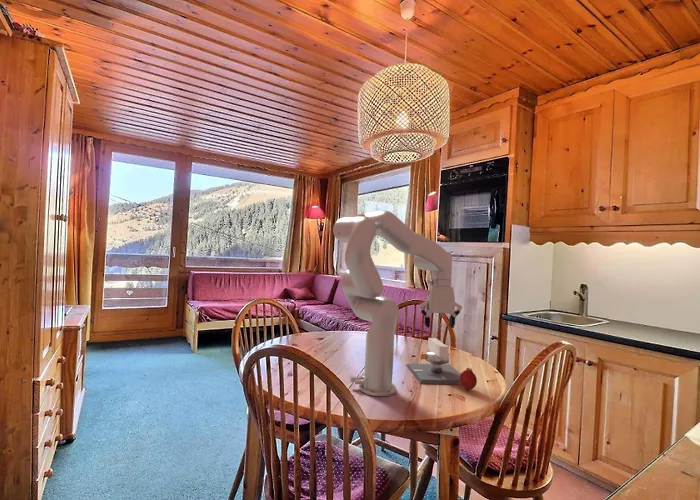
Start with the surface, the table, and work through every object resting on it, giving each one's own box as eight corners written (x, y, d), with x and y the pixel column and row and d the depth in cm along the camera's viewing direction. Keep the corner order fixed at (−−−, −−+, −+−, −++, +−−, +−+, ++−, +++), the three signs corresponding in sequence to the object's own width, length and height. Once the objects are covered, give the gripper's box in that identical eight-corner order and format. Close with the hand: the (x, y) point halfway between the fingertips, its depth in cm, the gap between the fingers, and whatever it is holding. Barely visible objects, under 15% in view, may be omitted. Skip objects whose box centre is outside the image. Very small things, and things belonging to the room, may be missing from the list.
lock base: (420, 383, 129) (421, 368, 129) (407, 367, 147) (408, 353, 147) (468, 384, 131) (469, 369, 131) (449, 367, 149) (450, 354, 149)
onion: (462, 386, 129) (463, 363, 129) (478, 390, 125) (479, 367, 125) (456, 390, 124) (457, 367, 124) (472, 395, 121) (473, 371, 121)
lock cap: (425, 365, 132) (426, 346, 132) (415, 355, 145) (416, 337, 145) (454, 365, 133) (455, 347, 133) (441, 355, 146) (442, 338, 146)
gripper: (422, 283, 135) (420, 329, 135) (466, 284, 136) (464, 329, 137) (416, 281, 142) (415, 324, 142) (458, 282, 144) (456, 325, 144)
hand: (439, 327), depth 139 cm, fingers open, 9 cm apart
